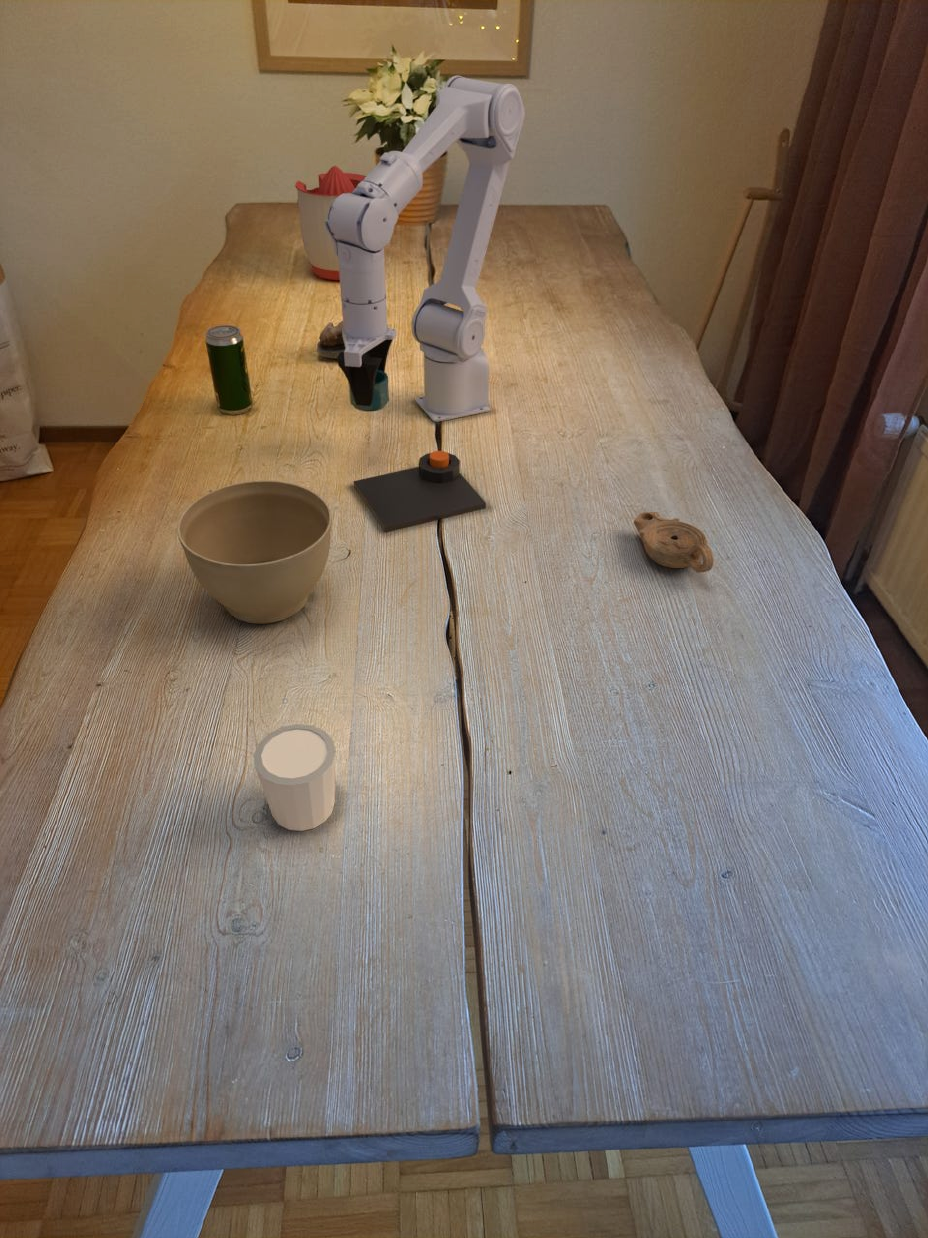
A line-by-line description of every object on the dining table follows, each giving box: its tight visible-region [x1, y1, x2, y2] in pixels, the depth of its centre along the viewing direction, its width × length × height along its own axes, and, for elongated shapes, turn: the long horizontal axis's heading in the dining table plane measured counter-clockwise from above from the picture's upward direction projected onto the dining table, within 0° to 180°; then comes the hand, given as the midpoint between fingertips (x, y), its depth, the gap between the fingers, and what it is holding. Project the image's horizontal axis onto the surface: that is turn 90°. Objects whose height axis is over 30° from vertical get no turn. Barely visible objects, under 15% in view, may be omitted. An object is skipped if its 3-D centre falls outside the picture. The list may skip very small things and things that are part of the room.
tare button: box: [430, 450, 449, 468], centre depth 122 cm, size 3×3×1 cm
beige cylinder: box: [253, 723, 337, 832], centre depth 79 cm, size 7×7×7 cm
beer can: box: [204, 324, 253, 416], centre depth 136 cm, size 5×5×12 cm
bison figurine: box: [316, 307, 388, 359], centre depth 151 cm, size 12×7×10 cm, turn 98°
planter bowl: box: [176, 479, 333, 624], centre depth 100 cm, size 16×16×11 cm
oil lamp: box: [633, 511, 714, 573], centre depth 109 cm, size 13×8×5 cm, turn 23°
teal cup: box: [347, 370, 390, 413], centre depth 124 cm, size 5×5×4 cm
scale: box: [352, 451, 487, 533], centre depth 120 cm, size 14×12×2 cm
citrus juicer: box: [294, 165, 367, 282], centre depth 179 cm, size 16×17×20 cm
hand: (369, 394), depth 125 cm, fingers closed on teal cup, 5 cm apart
